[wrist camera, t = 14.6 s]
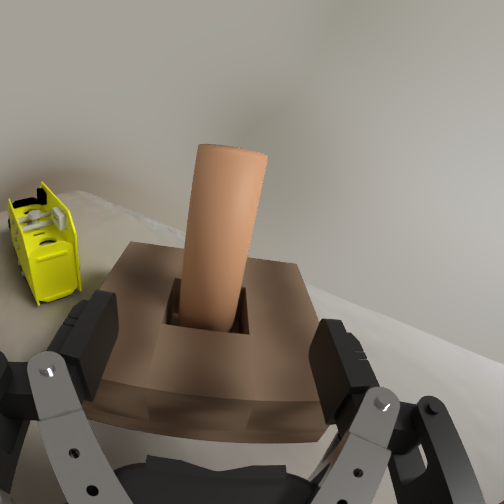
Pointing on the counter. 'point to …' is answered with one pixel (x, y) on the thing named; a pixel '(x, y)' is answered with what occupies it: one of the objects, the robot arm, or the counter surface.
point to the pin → (219, 234)
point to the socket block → (210, 356)
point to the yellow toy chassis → (45, 245)
